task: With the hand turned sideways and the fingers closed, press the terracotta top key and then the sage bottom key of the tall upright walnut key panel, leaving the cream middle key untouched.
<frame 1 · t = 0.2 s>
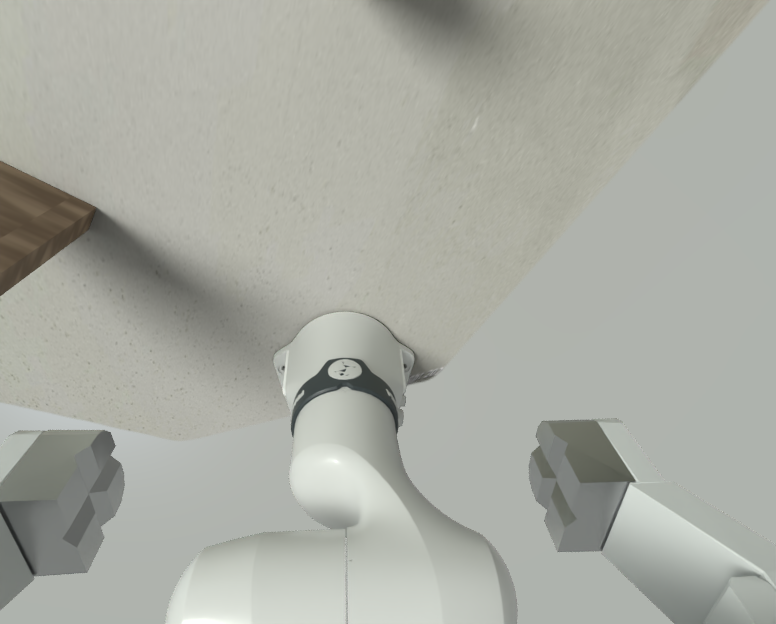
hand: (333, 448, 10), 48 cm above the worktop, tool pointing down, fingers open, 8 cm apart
key panel: (24, 186, 52), on the worktop
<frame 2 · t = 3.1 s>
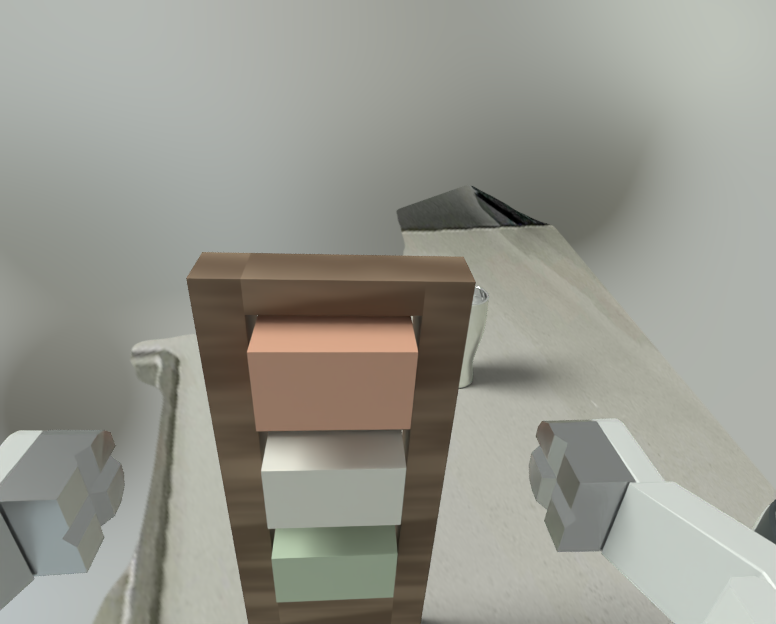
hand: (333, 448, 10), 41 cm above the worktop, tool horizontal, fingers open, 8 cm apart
cream key: (335, 472, 30), point 24 cm above the worktop, slide at 0.0 cm
terracotta key: (334, 368, 26), point 32 cm above the worktop, slide at 0.0 cm
sage key: (335, 550, 34), point 16 cm above the worktop, slide at 0.0 cm
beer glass: (453, 377, 78), on the worktop
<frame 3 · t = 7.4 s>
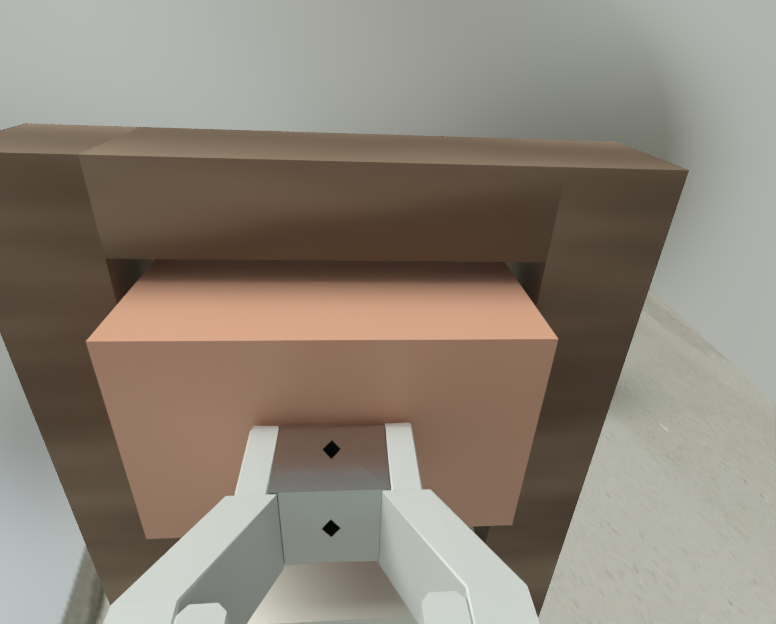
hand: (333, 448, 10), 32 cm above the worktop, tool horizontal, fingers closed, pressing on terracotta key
cream key: (338, 598, 15), point 24 cm above the worktop, slide at 0.0 cm
terracotta key: (335, 384, 11), point 32 cm above the worktop, slide at 0.3 cm, touching gripper
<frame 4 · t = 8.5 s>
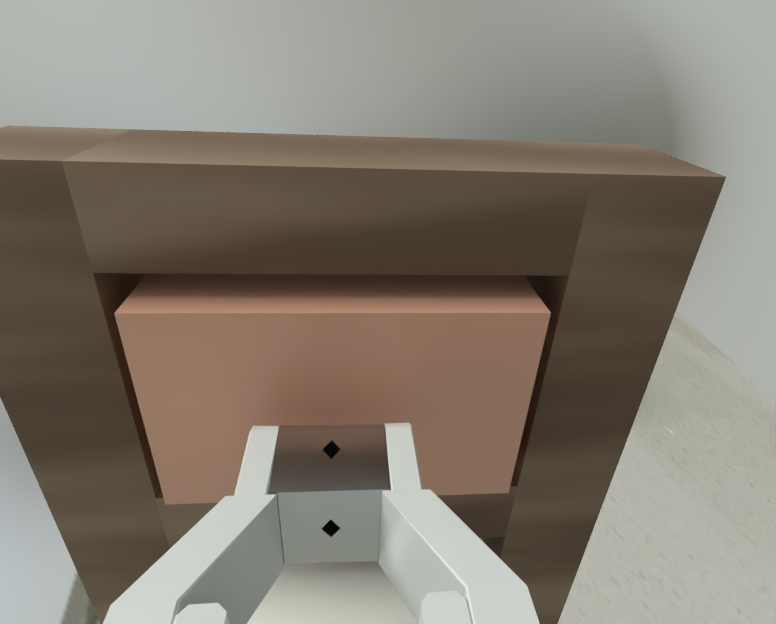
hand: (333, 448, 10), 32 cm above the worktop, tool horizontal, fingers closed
terracotta key: (342, 361, 12), point 32 cm above the worktop, slide at 1.9 cm
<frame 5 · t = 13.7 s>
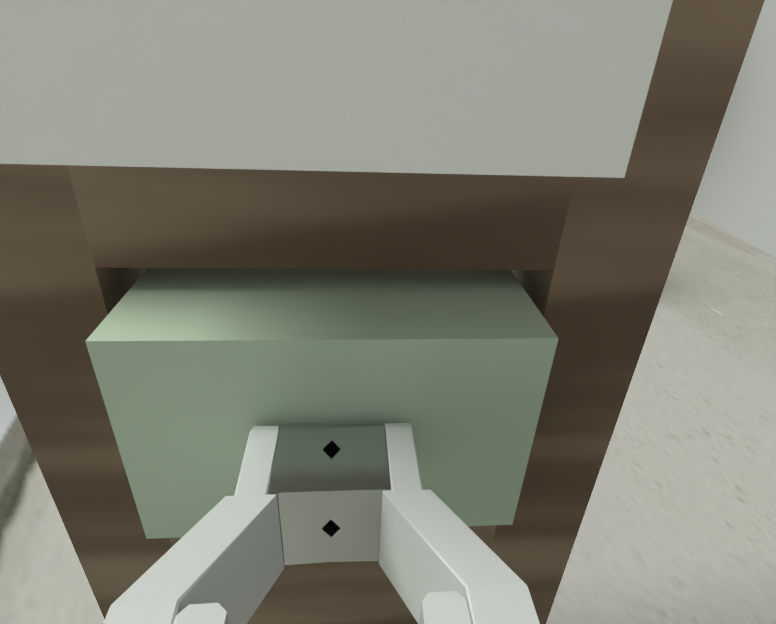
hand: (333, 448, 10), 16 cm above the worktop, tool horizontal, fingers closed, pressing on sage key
sage key: (335, 384, 11), point 16 cm above the worktop, slide at 0.7 cm, touching gripper
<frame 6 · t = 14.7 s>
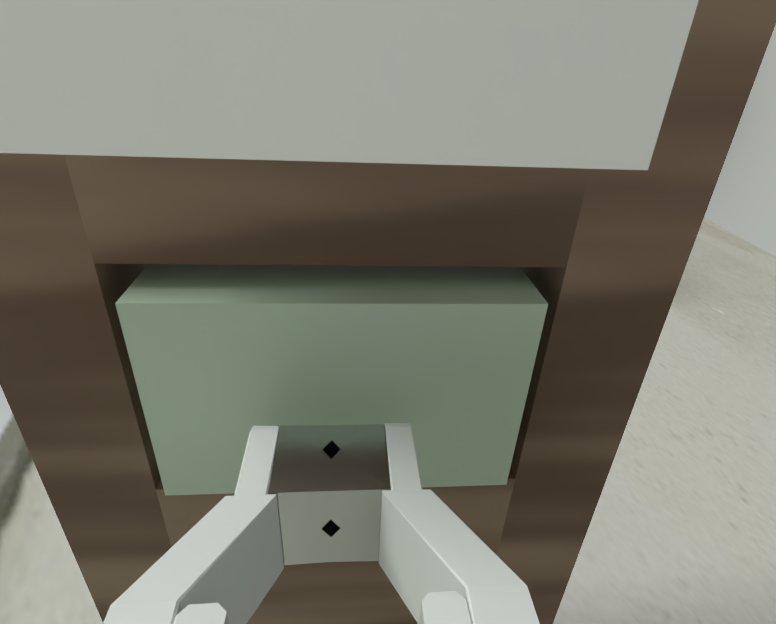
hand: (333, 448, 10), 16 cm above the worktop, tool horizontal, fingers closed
sage key: (341, 354, 12), point 16 cm above the worktop, slide at 1.9 cm
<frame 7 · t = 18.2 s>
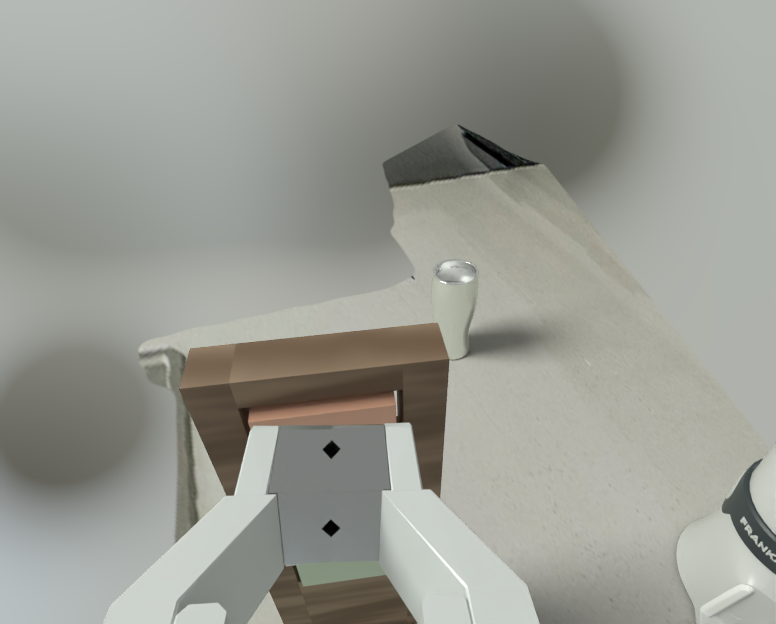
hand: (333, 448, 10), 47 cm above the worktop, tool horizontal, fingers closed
key panel: (361, 614, 50), on the worktop
cream key: (340, 511, 33), point 24 cm above the worktop, slide at 0.0 cm
terracotta key: (326, 414, 30), point 32 cm above the worktop, slide at 1.9 cm
sage key: (348, 540, 40), point 16 cm above the worktop, slide at 1.9 cm
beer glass: (450, 347, 80), on the worktop
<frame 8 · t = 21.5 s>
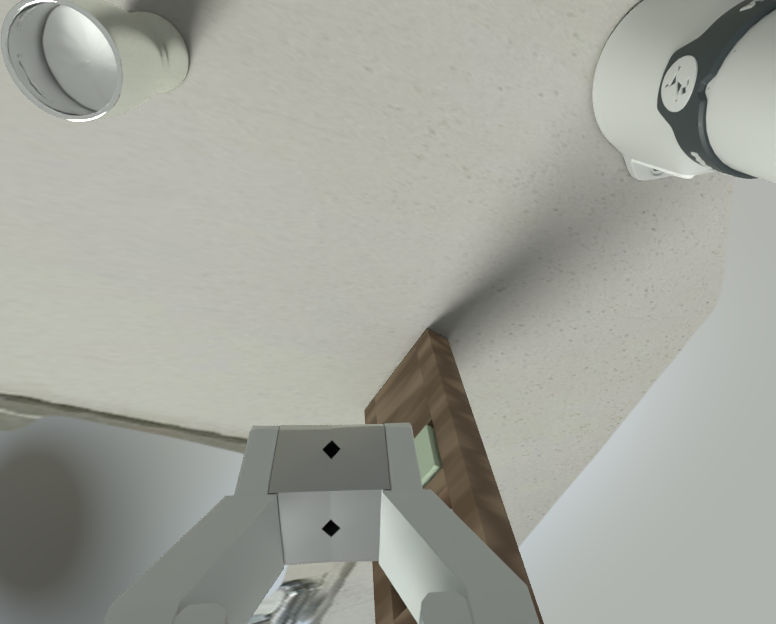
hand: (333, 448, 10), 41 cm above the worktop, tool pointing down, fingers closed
key panel: (404, 376, 60), on the worktop
sage key: (423, 479, 46), point 16 cm above the worktop, slide at 1.9 cm
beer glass: (152, 53, 42), on the worktop
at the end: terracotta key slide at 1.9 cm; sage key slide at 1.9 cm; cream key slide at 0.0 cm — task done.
